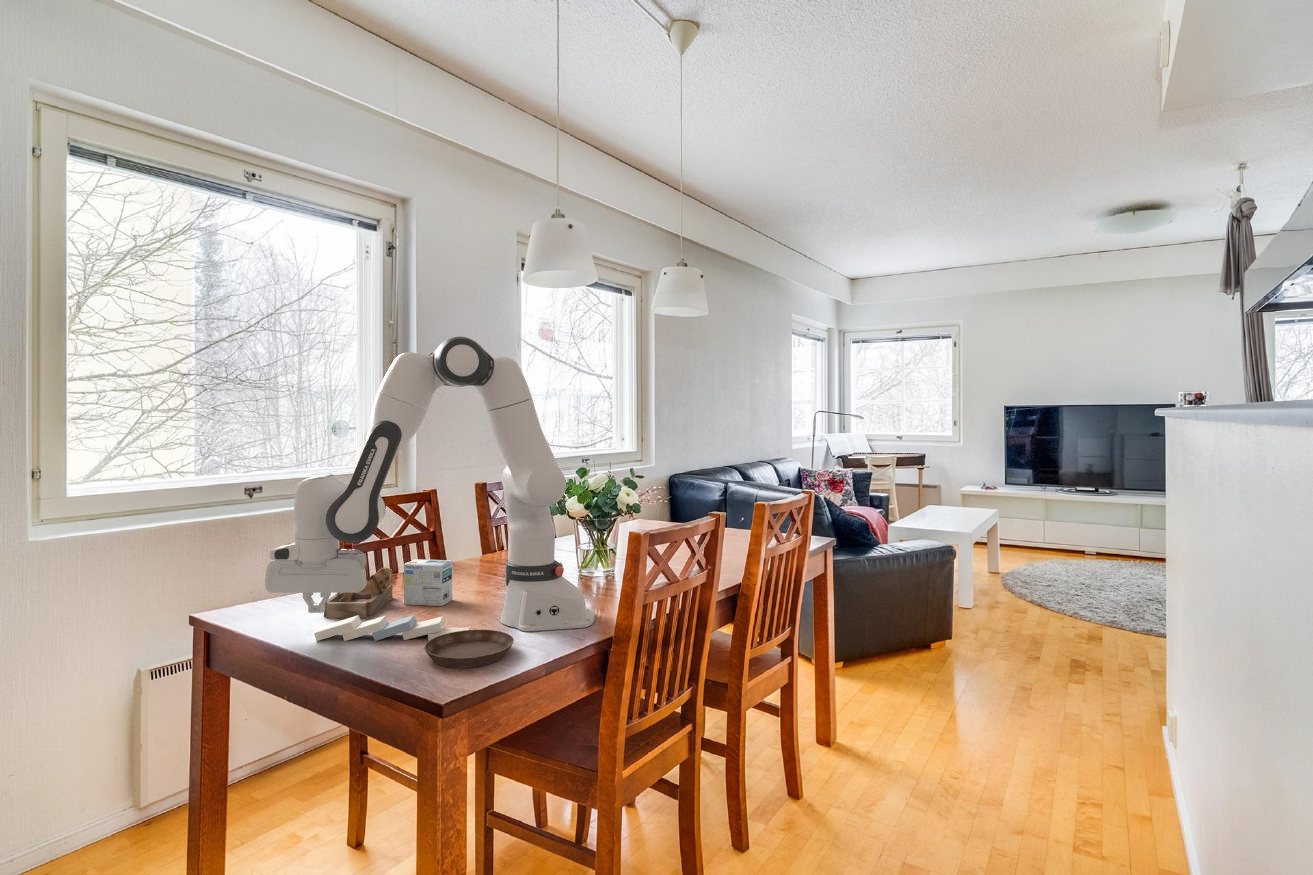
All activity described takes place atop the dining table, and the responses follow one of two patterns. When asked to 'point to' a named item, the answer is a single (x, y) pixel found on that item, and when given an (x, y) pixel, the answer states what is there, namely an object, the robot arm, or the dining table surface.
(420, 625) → the domino
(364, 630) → the domino
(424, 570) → the light bulb box
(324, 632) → the domino
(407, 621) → the domino
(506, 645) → the plant saucer
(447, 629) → the domino
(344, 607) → the brown tray
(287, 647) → the dining table surface
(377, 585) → the lion figurine
